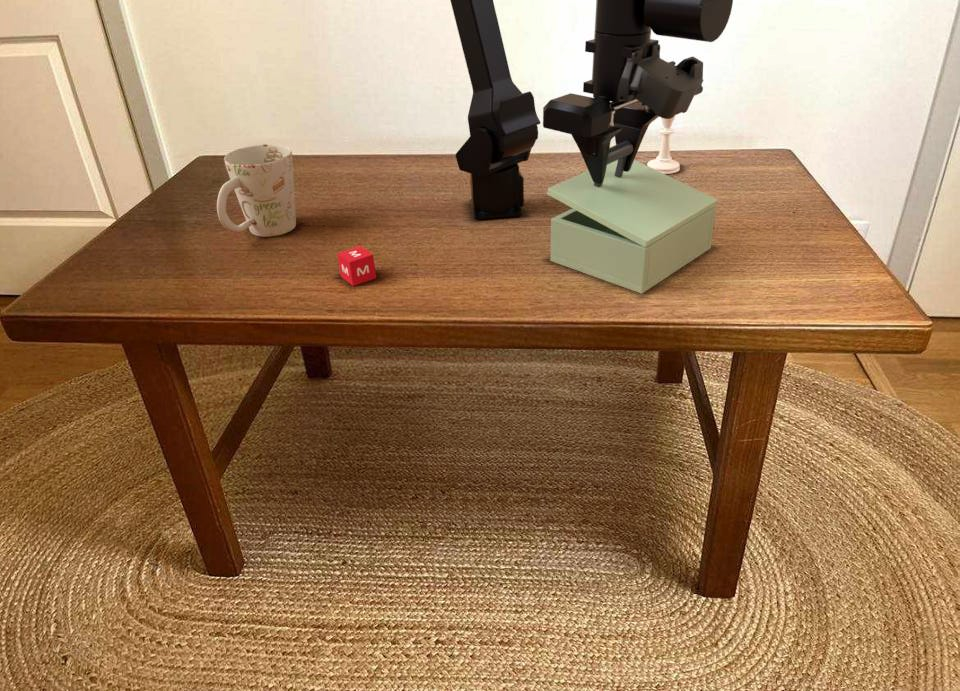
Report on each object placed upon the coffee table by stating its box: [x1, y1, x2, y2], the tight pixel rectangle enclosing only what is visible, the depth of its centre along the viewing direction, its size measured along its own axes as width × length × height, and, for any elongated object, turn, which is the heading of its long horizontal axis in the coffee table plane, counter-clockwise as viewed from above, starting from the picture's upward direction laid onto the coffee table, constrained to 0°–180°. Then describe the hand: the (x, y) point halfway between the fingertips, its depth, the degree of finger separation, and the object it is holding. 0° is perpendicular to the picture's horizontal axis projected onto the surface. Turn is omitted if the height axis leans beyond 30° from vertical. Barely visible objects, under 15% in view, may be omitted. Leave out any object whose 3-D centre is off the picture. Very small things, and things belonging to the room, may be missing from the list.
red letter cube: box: [337, 245, 377, 287], centre depth 83 cm, size 3×3×3 cm
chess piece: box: [646, 115, 681, 175], centre depth 107 cm, size 5×5×10 cm
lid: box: [546, 141, 719, 248], centre depth 80 cm, size 13×15×5 cm
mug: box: [216, 143, 297, 238], centre depth 92 cm, size 8×13×10 cm, turn 155°
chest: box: [549, 205, 717, 295], centre depth 84 cm, size 13×15×5 cm
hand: (611, 177), depth 83 cm, fingers closed on lid, 5 cm apart
